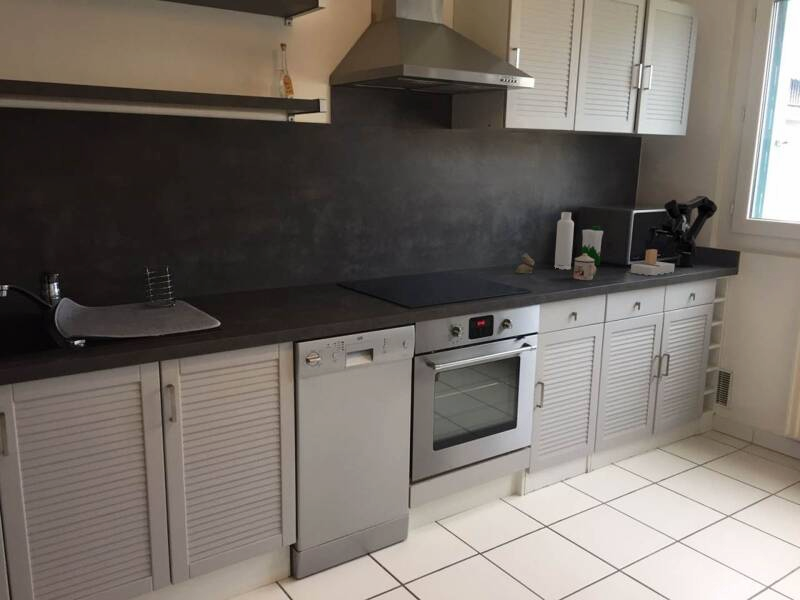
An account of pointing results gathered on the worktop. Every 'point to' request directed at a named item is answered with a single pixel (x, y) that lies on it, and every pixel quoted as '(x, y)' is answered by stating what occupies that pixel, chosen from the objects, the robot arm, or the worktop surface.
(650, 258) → the tan upright block
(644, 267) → the white flat block
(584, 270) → the teacup with lid
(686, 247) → the robot arm
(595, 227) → the white green tumbler
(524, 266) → the chocolate bunny
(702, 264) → the worktop surface
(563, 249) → the bottle
